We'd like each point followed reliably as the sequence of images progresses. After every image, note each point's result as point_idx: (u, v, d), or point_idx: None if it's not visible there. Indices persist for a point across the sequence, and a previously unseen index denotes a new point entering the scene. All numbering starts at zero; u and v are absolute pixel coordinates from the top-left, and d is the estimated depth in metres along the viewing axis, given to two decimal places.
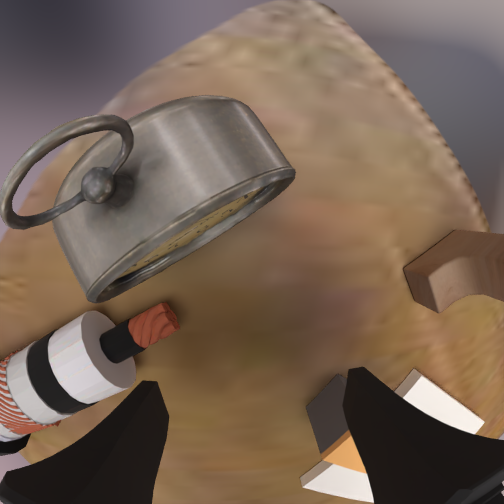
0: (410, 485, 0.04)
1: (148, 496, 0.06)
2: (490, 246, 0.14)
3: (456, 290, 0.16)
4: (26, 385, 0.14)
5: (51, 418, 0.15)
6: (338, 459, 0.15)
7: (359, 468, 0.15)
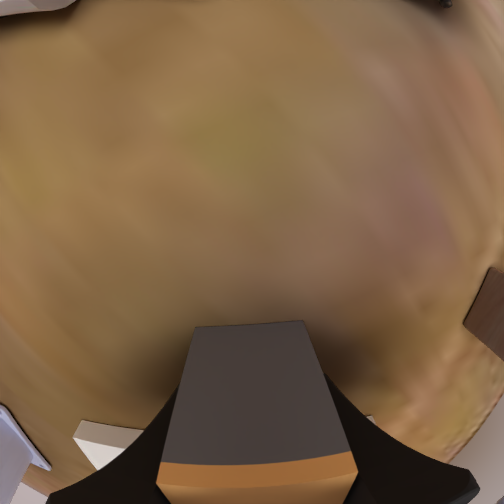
0: (353, 503, 0.04)
1: None
2: None
3: None
4: None
5: None
6: None
7: None
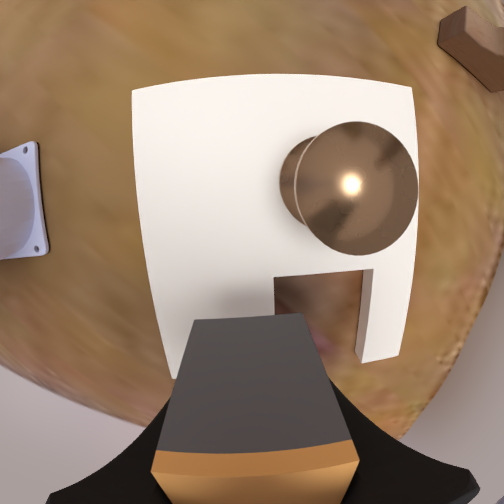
0: (353, 503, 0.04)
1: None
2: None
3: (486, 39, 0.09)
4: None
5: None
6: (187, 495, 0.04)
7: None
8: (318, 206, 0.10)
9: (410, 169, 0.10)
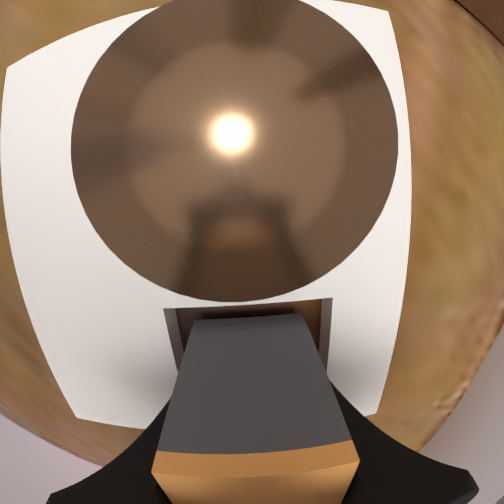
0: None
1: None
2: None
3: None
4: None
5: None
6: (187, 495, 0.04)
7: None
8: (113, 184, 0.04)
9: (370, 80, 0.03)
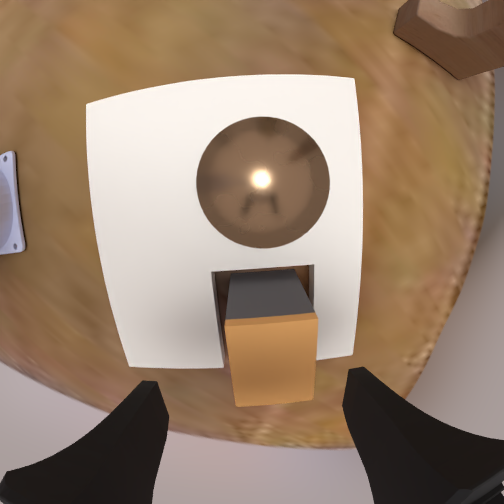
0: (410, 485, 0.04)
1: (148, 496, 0.06)
2: None
3: (444, 22, 0.10)
4: None
5: None
6: (238, 346, 0.12)
7: (239, 387, 0.13)
8: (217, 201, 0.10)
9: (319, 159, 0.10)
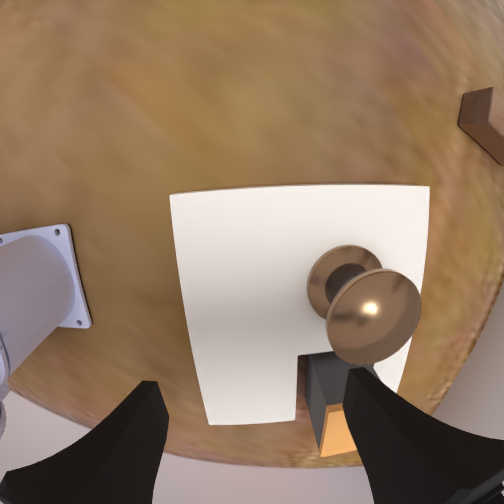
0: (410, 485, 0.04)
1: (148, 496, 0.06)
2: None
3: None
4: None
5: None
6: (335, 422, 0.14)
7: (327, 445, 0.15)
8: (343, 338, 0.12)
9: (417, 301, 0.12)
